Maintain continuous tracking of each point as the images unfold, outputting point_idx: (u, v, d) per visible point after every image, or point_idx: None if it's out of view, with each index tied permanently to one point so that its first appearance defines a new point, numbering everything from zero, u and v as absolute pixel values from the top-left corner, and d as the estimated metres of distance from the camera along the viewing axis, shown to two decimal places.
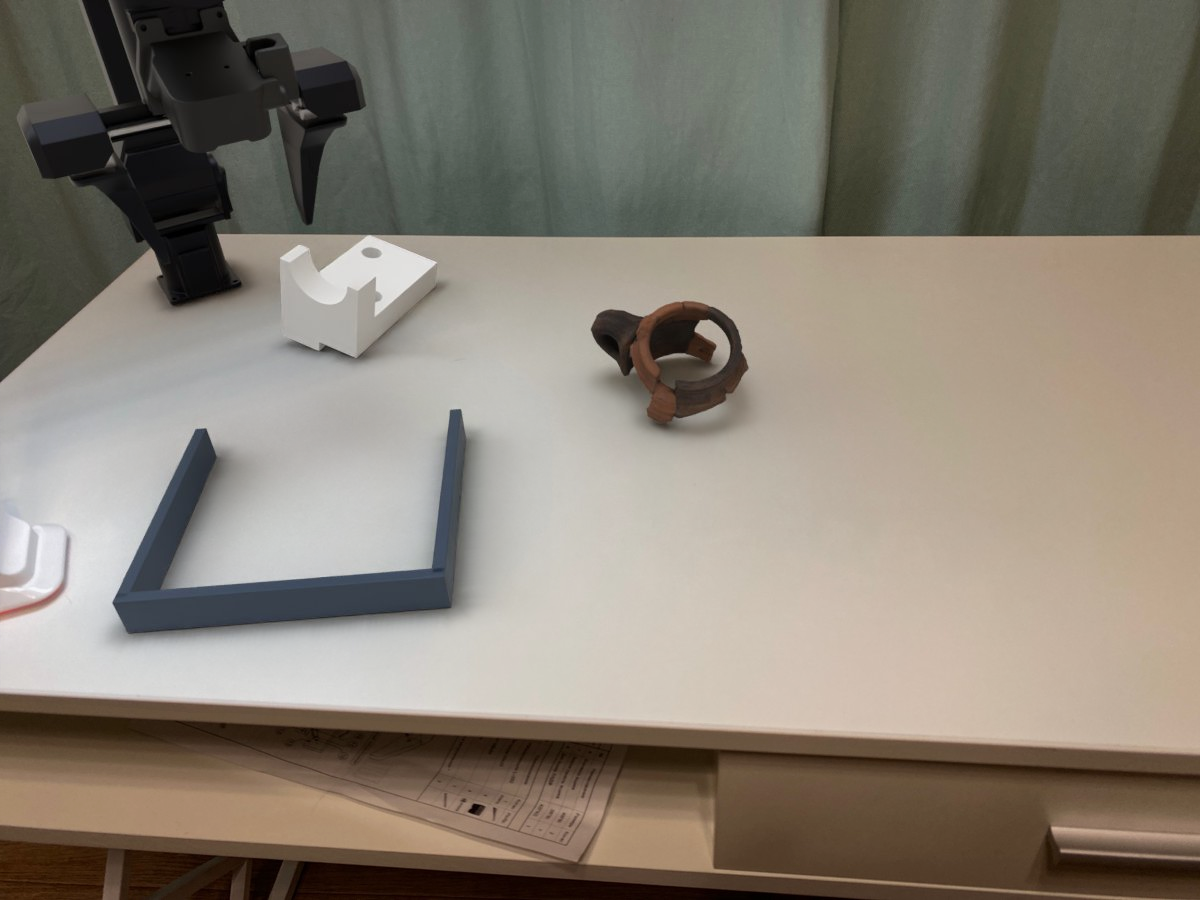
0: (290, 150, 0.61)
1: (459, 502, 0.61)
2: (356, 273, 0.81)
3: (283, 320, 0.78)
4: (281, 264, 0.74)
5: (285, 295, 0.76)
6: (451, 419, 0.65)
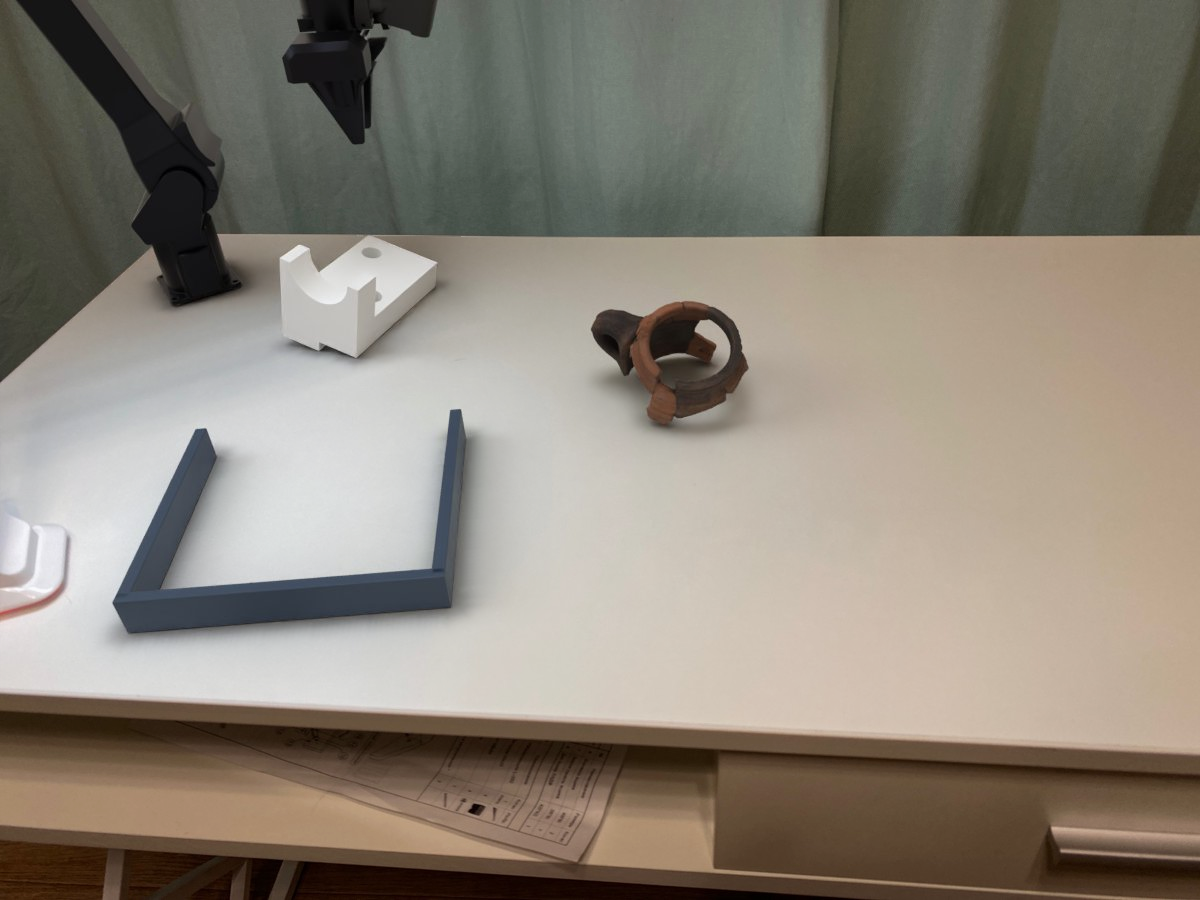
0: None
1: (459, 502, 0.61)
2: (356, 273, 0.81)
3: (283, 320, 0.78)
4: (281, 264, 0.74)
5: (285, 295, 0.76)
6: (451, 419, 0.65)
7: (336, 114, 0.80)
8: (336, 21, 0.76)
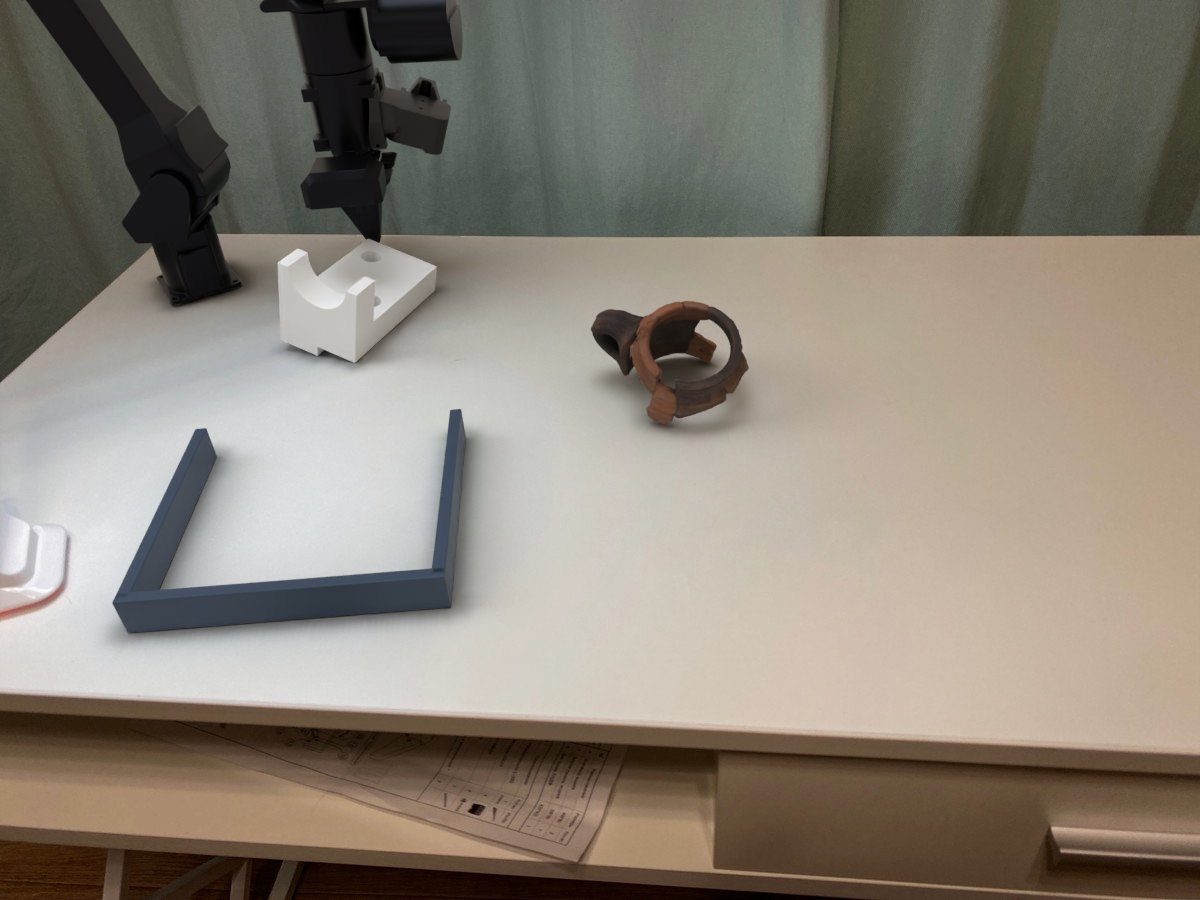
0: None
1: (459, 502, 0.61)
2: (355, 277, 0.81)
3: (281, 325, 0.77)
4: (279, 268, 0.74)
5: (283, 299, 0.75)
6: (451, 419, 0.65)
7: (354, 217, 0.84)
8: (351, 142, 0.78)
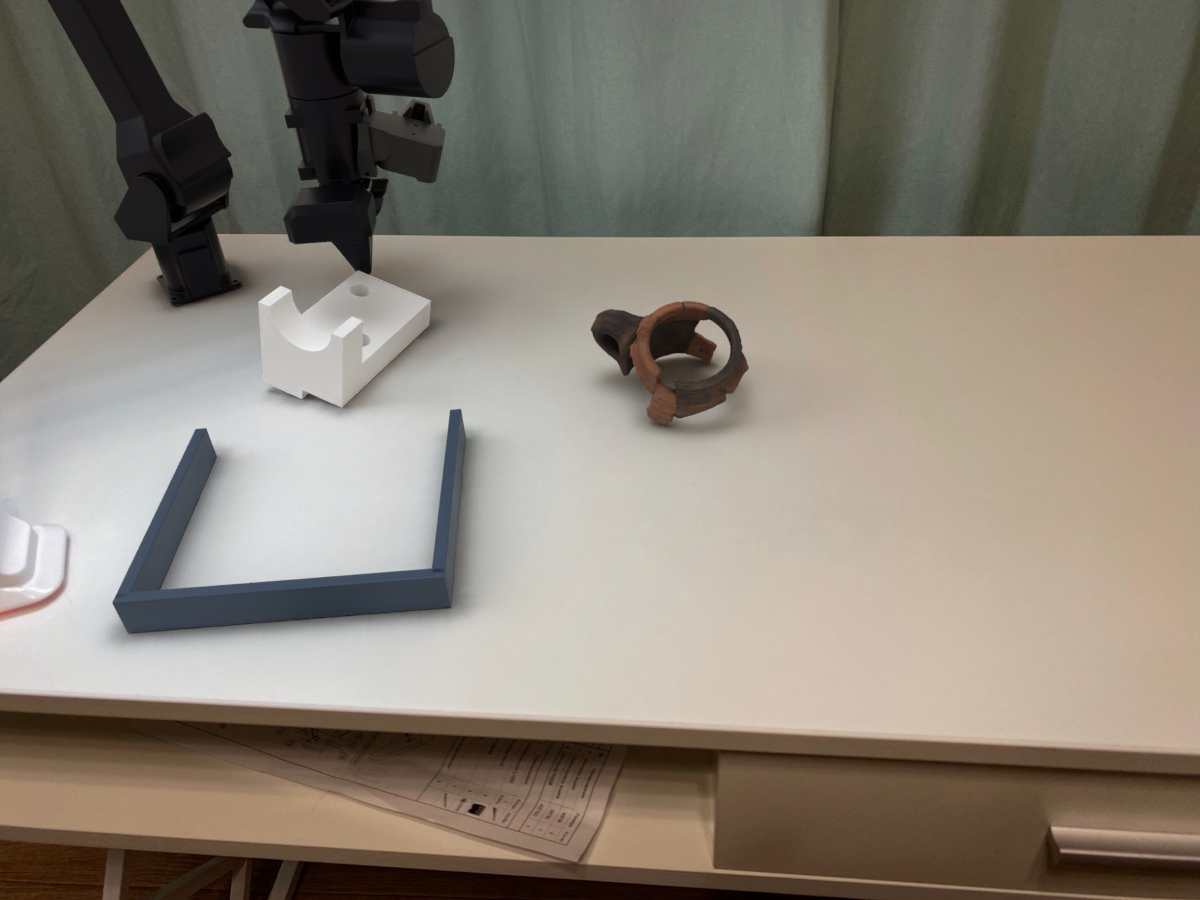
0: None
1: (459, 502, 0.61)
2: (344, 314, 0.76)
3: (263, 366, 0.72)
4: (260, 308, 0.69)
5: (265, 340, 0.70)
6: (451, 419, 0.65)
7: (342, 248, 0.79)
8: (339, 170, 0.73)
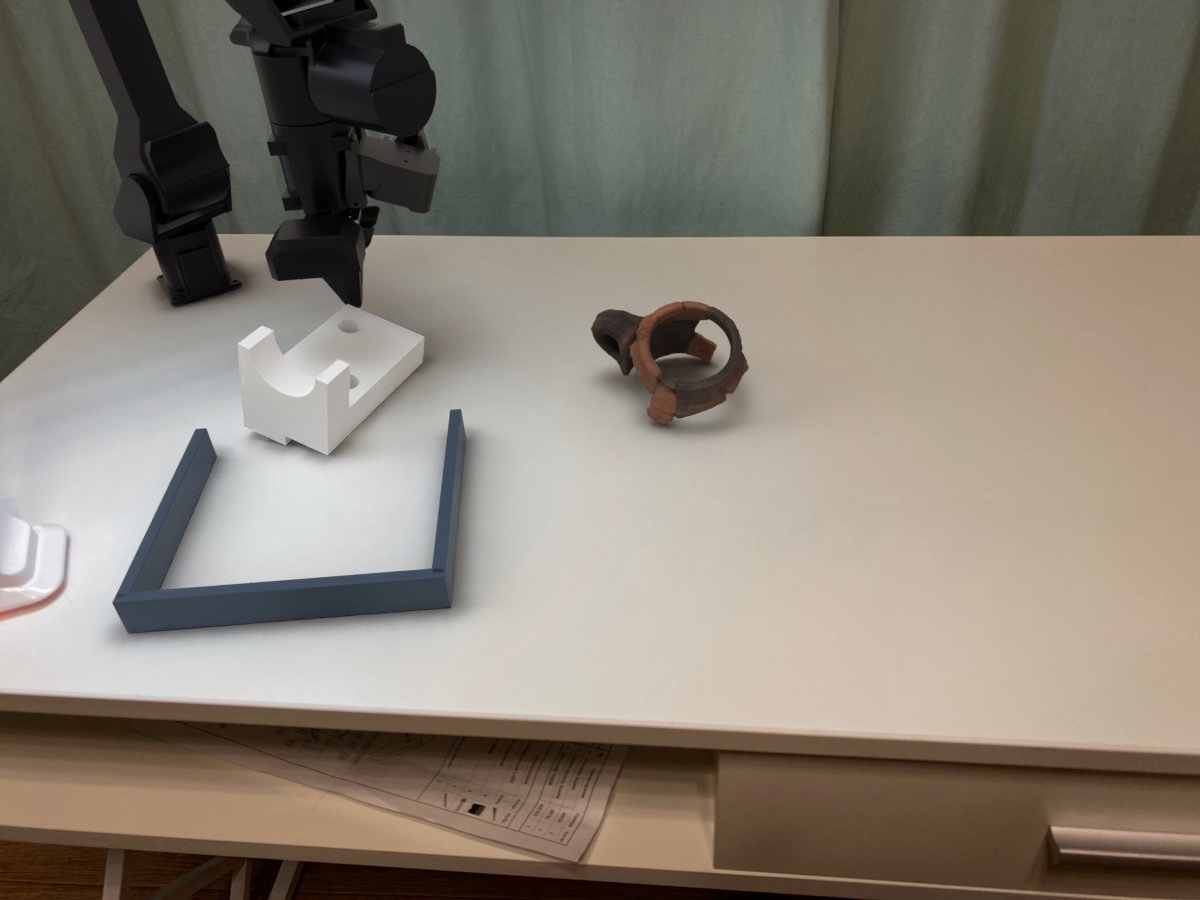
0: None
1: (459, 502, 0.61)
2: (331, 352, 0.71)
3: (244, 410, 0.67)
4: (239, 350, 0.64)
5: (245, 384, 0.66)
6: (451, 419, 0.65)
7: (330, 281, 0.74)
8: (326, 200, 0.68)
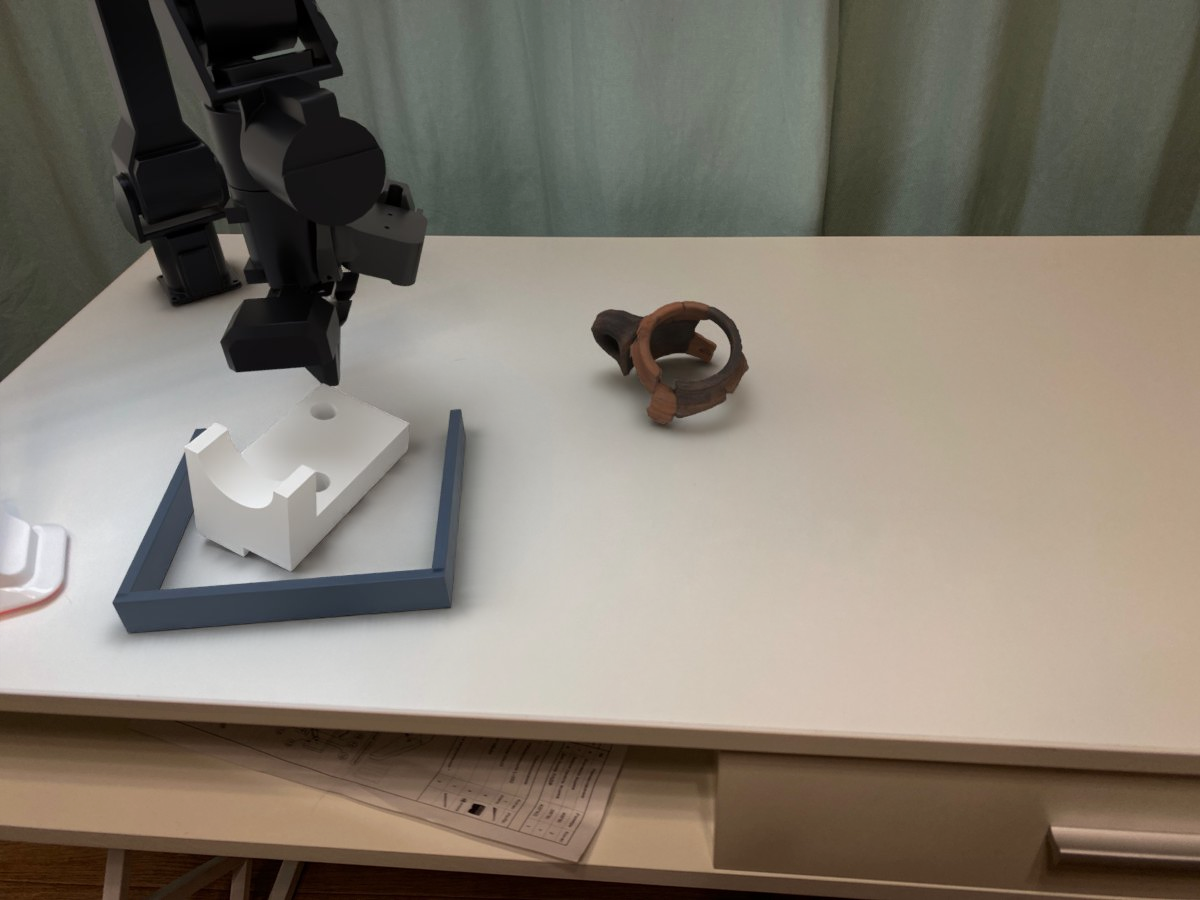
0: None
1: (459, 502, 0.61)
2: (300, 445, 0.62)
3: (196, 516, 0.58)
4: (187, 454, 0.55)
5: (196, 489, 0.56)
6: (451, 419, 0.65)
7: None
8: (294, 273, 0.59)
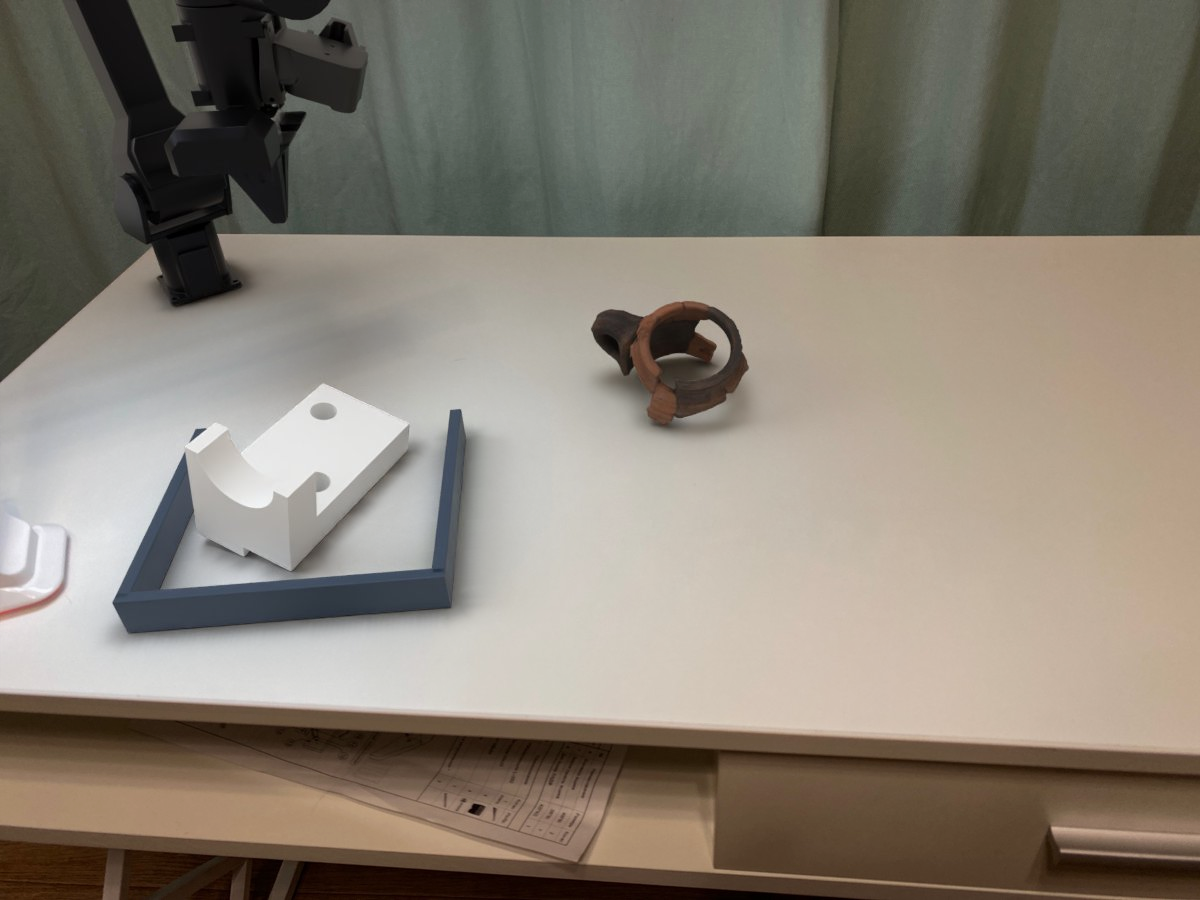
0: None
1: (459, 502, 0.61)
2: (300, 445, 0.62)
3: (196, 516, 0.58)
4: (187, 454, 0.55)
5: (196, 489, 0.56)
6: (451, 419, 0.65)
7: (250, 191, 0.68)
8: (238, 94, 0.63)
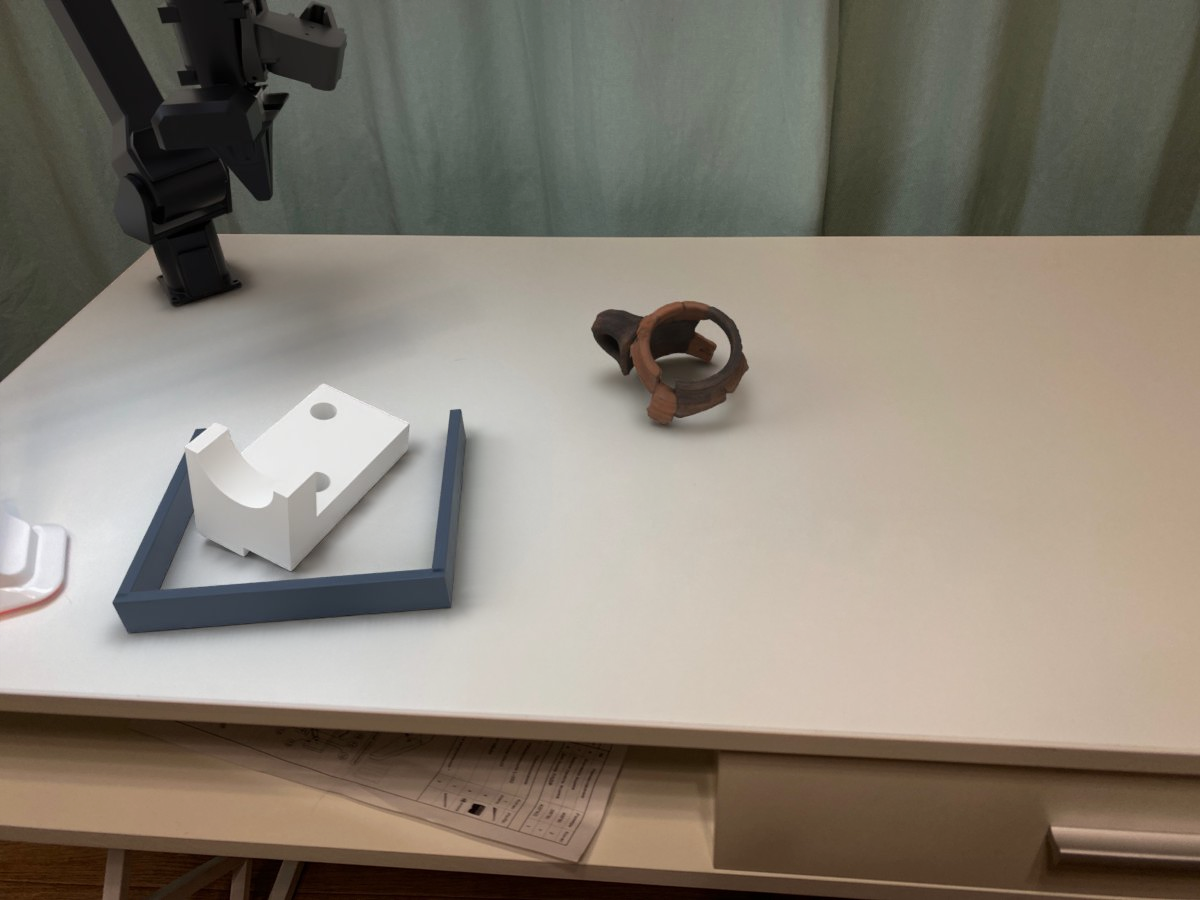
0: None
1: (459, 502, 0.61)
2: (300, 445, 0.62)
3: (196, 516, 0.58)
4: (187, 454, 0.55)
5: (196, 489, 0.56)
6: (451, 419, 0.65)
7: (235, 169, 0.71)
8: (222, 73, 0.65)
